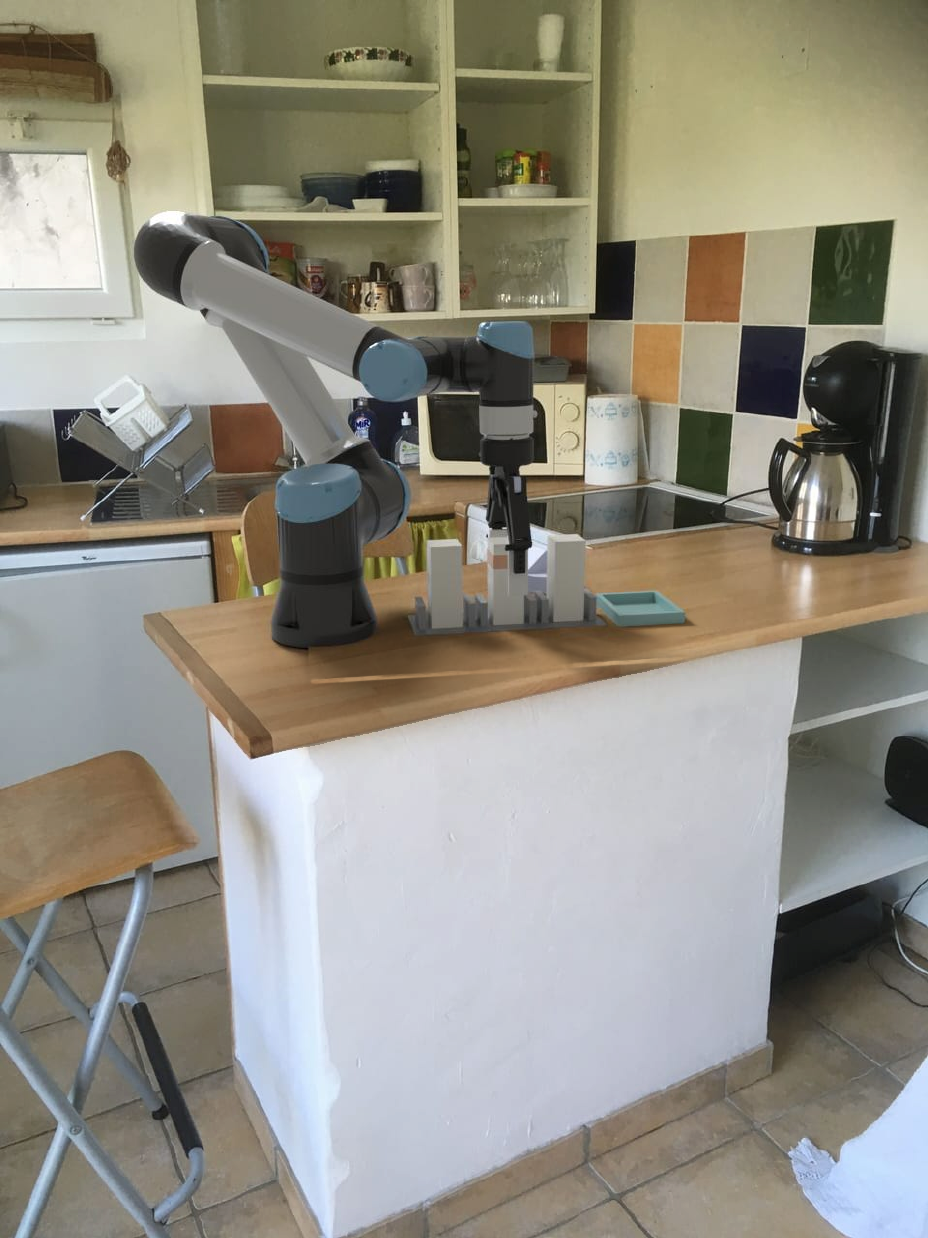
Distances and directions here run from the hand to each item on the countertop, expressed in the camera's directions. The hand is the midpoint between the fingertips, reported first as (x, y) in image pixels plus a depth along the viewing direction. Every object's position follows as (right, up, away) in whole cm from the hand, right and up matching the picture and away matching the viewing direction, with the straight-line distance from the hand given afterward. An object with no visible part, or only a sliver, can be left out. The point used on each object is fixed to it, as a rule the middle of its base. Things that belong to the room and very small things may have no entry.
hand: (507, 582), depth 149 cm
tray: (+20, -5, +5) cm, 21 cm away
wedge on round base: (+6, 0, +21) cm, 22 cm away
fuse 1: (-9, -6, 0) cm, 11 cm away
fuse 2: (+9, -5, +3) cm, 10 cm away
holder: (0, -6, +2) cm, 6 cm away
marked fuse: (0, -5, +2) cm, 6 cm away
